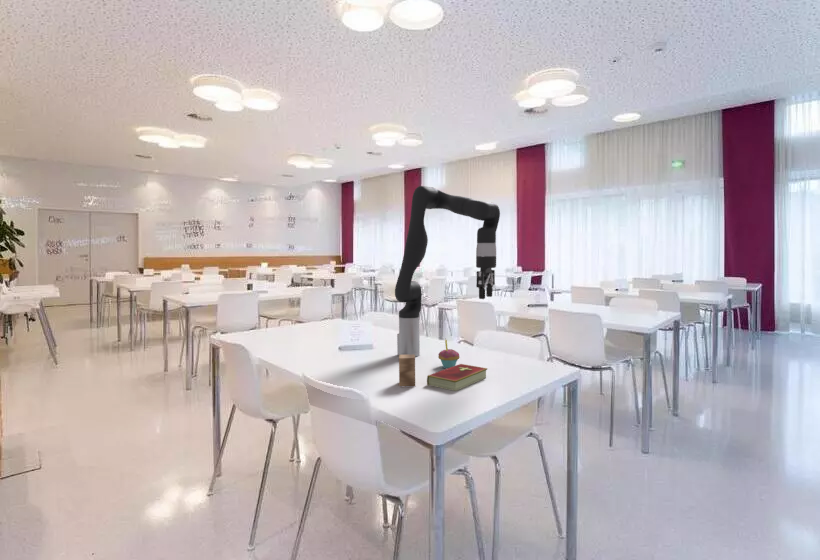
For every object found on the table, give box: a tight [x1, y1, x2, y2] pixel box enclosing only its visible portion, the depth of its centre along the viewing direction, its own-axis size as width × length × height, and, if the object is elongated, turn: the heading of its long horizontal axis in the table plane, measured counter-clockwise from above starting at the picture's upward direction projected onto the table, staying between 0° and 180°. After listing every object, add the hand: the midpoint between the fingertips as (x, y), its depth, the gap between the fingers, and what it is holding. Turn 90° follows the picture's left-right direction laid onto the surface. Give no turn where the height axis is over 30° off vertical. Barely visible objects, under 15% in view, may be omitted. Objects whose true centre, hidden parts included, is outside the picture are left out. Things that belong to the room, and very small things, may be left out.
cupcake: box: [438, 338, 460, 369], centre depth 183 cm, size 9×8×12 cm
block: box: [398, 354, 416, 387], centre depth 159 cm, size 6×6×10 cm
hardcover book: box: [426, 363, 488, 392], centre depth 162 cm, size 12×21×4 cm, turn 141°
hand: (485, 297), depth 173 cm, fingers open, 8 cm apart
